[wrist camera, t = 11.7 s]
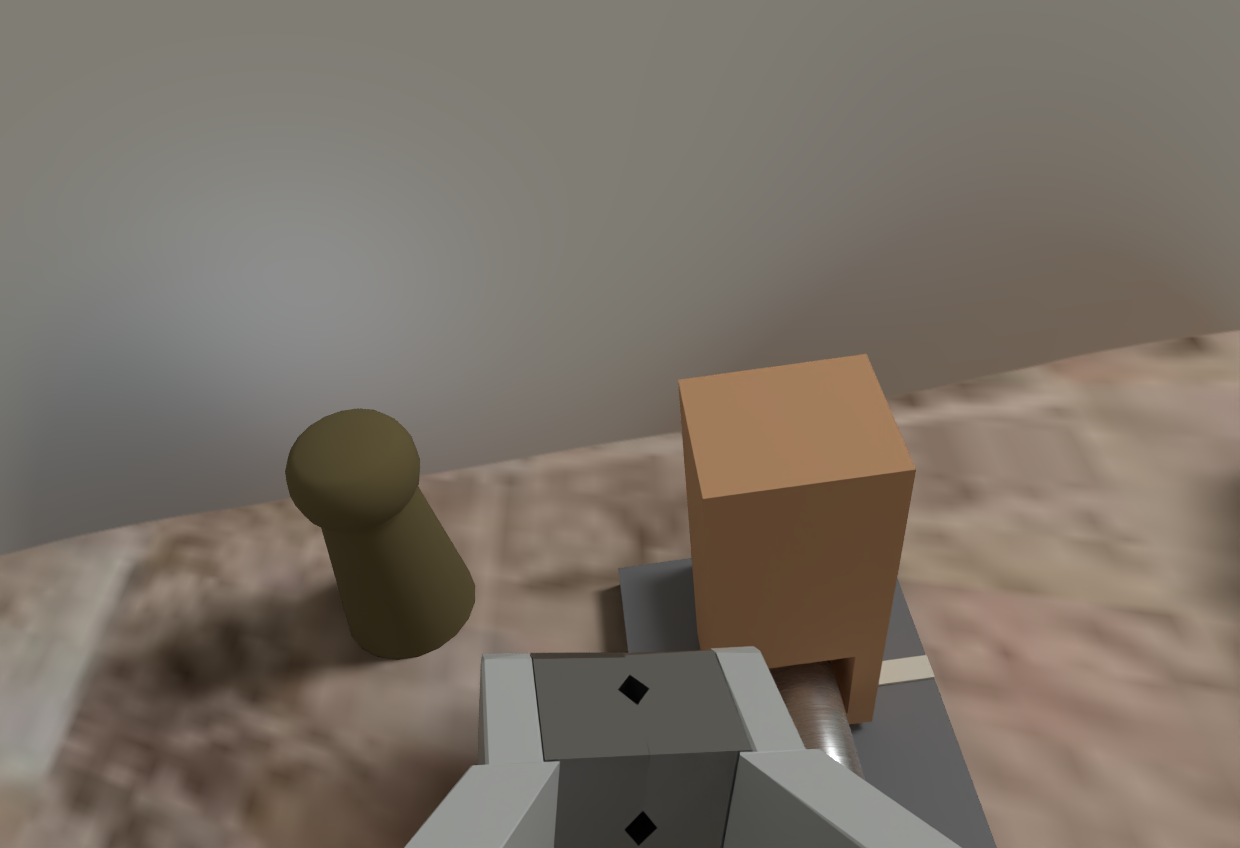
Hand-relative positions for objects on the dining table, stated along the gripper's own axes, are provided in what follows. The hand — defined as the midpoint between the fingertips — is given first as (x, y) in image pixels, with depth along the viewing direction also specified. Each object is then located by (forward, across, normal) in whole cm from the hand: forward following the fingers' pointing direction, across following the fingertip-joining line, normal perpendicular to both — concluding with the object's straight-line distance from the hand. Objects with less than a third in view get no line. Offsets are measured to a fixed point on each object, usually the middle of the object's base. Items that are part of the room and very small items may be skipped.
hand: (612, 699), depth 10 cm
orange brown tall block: (+21, -11, +17) cm, 30 cm away
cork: (+30, +3, +20) cm, 37 cm away
